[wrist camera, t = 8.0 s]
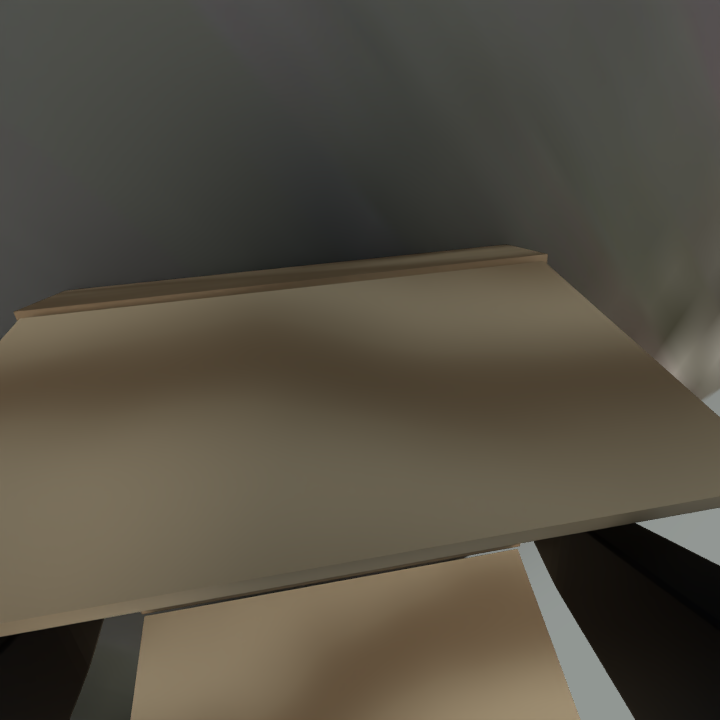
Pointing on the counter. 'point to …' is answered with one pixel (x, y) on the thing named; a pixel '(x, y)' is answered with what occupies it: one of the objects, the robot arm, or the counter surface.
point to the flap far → (361, 651)
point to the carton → (280, 281)
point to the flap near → (325, 438)
